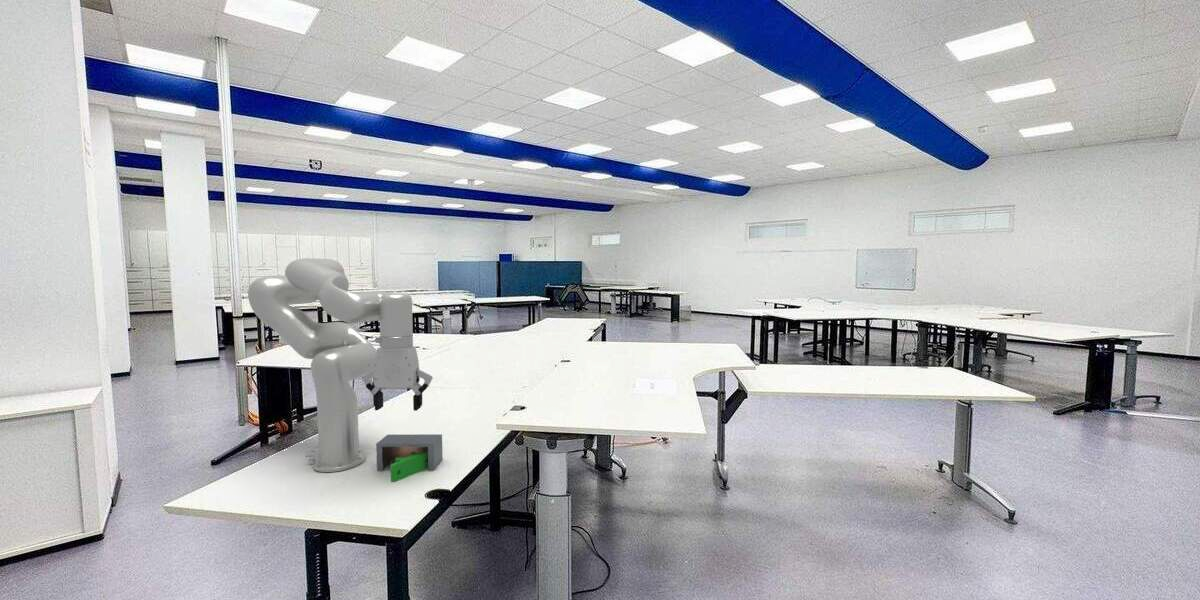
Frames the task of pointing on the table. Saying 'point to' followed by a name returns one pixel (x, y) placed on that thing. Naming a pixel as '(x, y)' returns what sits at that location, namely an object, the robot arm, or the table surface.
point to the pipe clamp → (408, 465)
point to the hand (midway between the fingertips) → (398, 408)
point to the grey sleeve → (409, 449)
